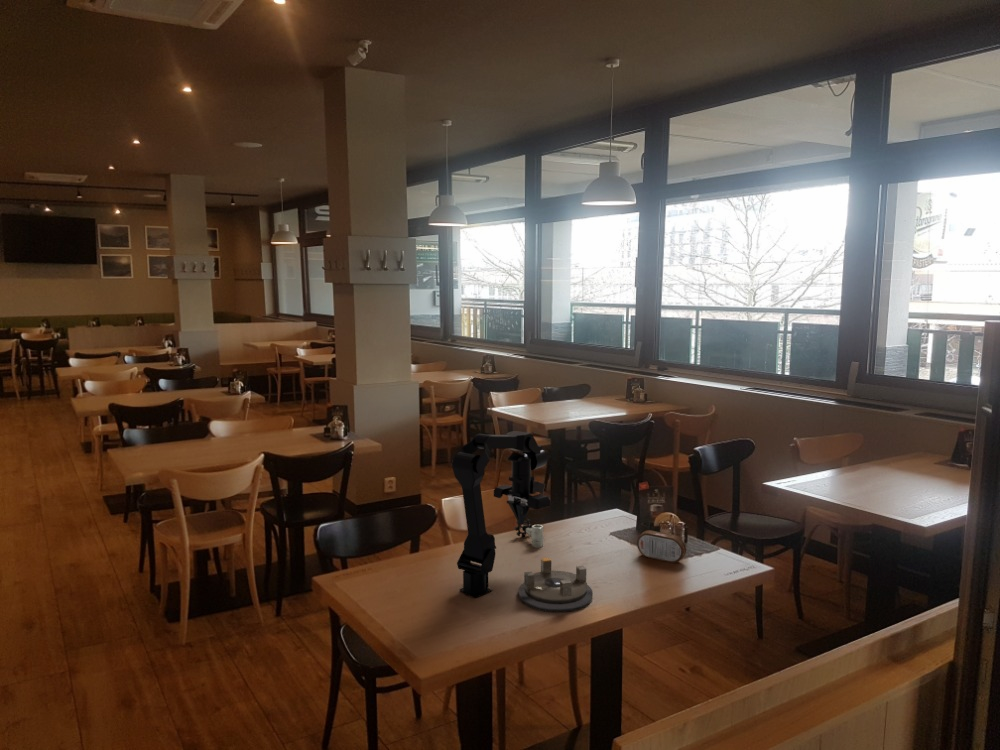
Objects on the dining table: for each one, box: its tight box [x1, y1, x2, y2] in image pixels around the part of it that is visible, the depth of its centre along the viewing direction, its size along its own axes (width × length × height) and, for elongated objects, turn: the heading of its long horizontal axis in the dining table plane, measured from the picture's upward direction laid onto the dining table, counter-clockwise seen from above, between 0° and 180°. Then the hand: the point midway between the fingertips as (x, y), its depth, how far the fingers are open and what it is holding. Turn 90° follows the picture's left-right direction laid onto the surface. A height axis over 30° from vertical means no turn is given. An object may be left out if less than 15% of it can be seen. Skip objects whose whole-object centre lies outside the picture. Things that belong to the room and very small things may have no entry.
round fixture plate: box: [523, 557, 588, 604], centre depth 188 cm, size 17×17×6 cm
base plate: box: [518, 582, 594, 613], centre depth 189 cm, size 20×20×2 cm
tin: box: [636, 529, 687, 564], centre depth 214 cm, size 15×3×8 cm, turn 58°
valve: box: [514, 518, 545, 548], centre depth 230 cm, size 7×7×12 cm
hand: (521, 524), depth 208 cm, fingers closed
